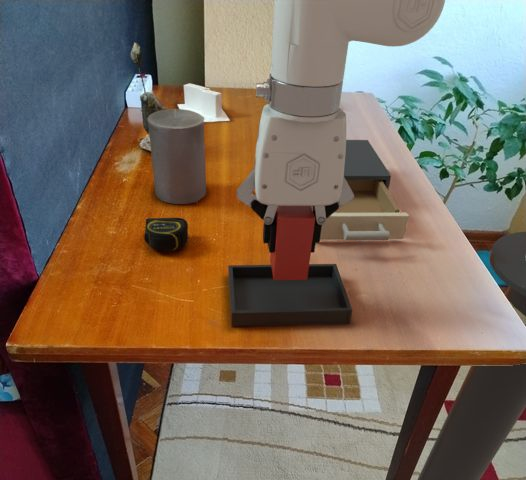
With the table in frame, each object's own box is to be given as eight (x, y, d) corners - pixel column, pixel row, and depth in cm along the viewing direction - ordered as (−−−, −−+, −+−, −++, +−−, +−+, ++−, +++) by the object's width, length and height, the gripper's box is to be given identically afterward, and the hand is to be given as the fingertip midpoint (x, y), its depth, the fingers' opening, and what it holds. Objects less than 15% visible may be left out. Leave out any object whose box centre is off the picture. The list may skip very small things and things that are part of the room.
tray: (334, 276, 75) (336, 263, 73) (349, 323, 67) (352, 310, 65) (228, 278, 73) (228, 265, 72) (231, 327, 65) (231, 313, 64)
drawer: (410, 252, 79) (417, 228, 76) (317, 253, 78) (320, 229, 75) (377, 194, 94) (382, 173, 91) (299, 194, 93) (301, 172, 90)
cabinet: (384, 207, 93) (391, 175, 88) (298, 207, 91) (301, 175, 87) (362, 168, 105) (367, 139, 101) (286, 168, 104) (288, 139, 100)
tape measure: (188, 234, 82) (187, 213, 80) (188, 256, 77) (186, 235, 75) (147, 234, 82) (144, 214, 79) (144, 256, 77) (141, 235, 74)
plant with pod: (138, 159, 104) (124, 51, 90) (139, 139, 112) (126, 38, 98) (177, 158, 105) (168, 52, 91) (175, 138, 113) (166, 38, 100)
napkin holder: (176, 104, 131) (174, 80, 127) (217, 102, 134) (217, 79, 130) (186, 123, 121) (185, 98, 117) (231, 120, 124) (230, 96, 120)
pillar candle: (151, 185, 95) (141, 102, 85) (200, 180, 98) (196, 99, 88) (161, 208, 89) (151, 121, 78) (213, 201, 91) (210, 117, 81)
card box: (301, 259, 69) (308, 199, 62) (307, 280, 65) (315, 218, 59) (269, 259, 68) (274, 199, 62) (273, 280, 64) (278, 218, 58)
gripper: (226, 106, 48) (226, 263, 61) (392, 109, 50) (359, 262, 62) (223, 84, 53) (225, 232, 66) (373, 88, 55) (347, 232, 68)
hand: (290, 245), depth 64 cm, fingers closed on card box, 4 cm apart
